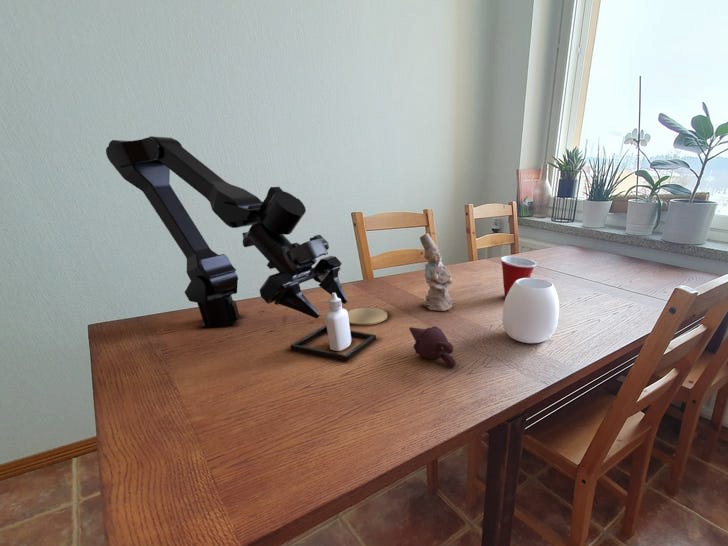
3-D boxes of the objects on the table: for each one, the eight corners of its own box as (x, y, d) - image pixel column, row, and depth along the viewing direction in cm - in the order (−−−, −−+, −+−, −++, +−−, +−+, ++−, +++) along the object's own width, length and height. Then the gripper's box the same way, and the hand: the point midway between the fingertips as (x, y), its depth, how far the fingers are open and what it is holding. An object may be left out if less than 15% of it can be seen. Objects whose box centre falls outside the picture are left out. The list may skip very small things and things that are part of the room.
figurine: (416, 304, 106) (414, 231, 97) (441, 299, 111) (441, 229, 102) (434, 314, 100) (434, 238, 91) (459, 308, 105) (461, 235, 96)
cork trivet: (343, 326, 90) (343, 325, 90) (343, 310, 99) (342, 308, 99) (389, 323, 94) (389, 321, 93) (385, 308, 103) (385, 306, 102)
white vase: (565, 337, 92) (574, 284, 85) (533, 354, 83) (541, 296, 76) (522, 321, 99) (528, 271, 93) (489, 335, 90) (493, 281, 84)
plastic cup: (534, 305, 111) (539, 265, 105) (497, 303, 111) (501, 263, 105) (530, 293, 121) (534, 256, 115) (497, 291, 120) (499, 254, 115)
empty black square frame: (291, 350, 79) (290, 345, 78) (325, 330, 88) (325, 325, 88) (346, 361, 75) (345, 356, 75) (376, 339, 85) (375, 334, 85)
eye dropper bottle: (323, 346, 81) (315, 293, 75) (346, 339, 85) (340, 287, 79) (335, 353, 78) (326, 299, 73) (358, 345, 82) (352, 292, 77)
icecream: (392, 322, 78) (436, 354, 70) (420, 307, 82) (465, 336, 73) (399, 348, 83) (441, 380, 74) (426, 332, 86) (468, 362, 78)
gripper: (257, 229, 63) (323, 301, 66) (327, 216, 79) (378, 274, 82) (232, 270, 69) (294, 334, 71) (303, 250, 84) (351, 303, 87)
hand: (333, 309), depth 78 cm, fingers open, 9 cm apart
